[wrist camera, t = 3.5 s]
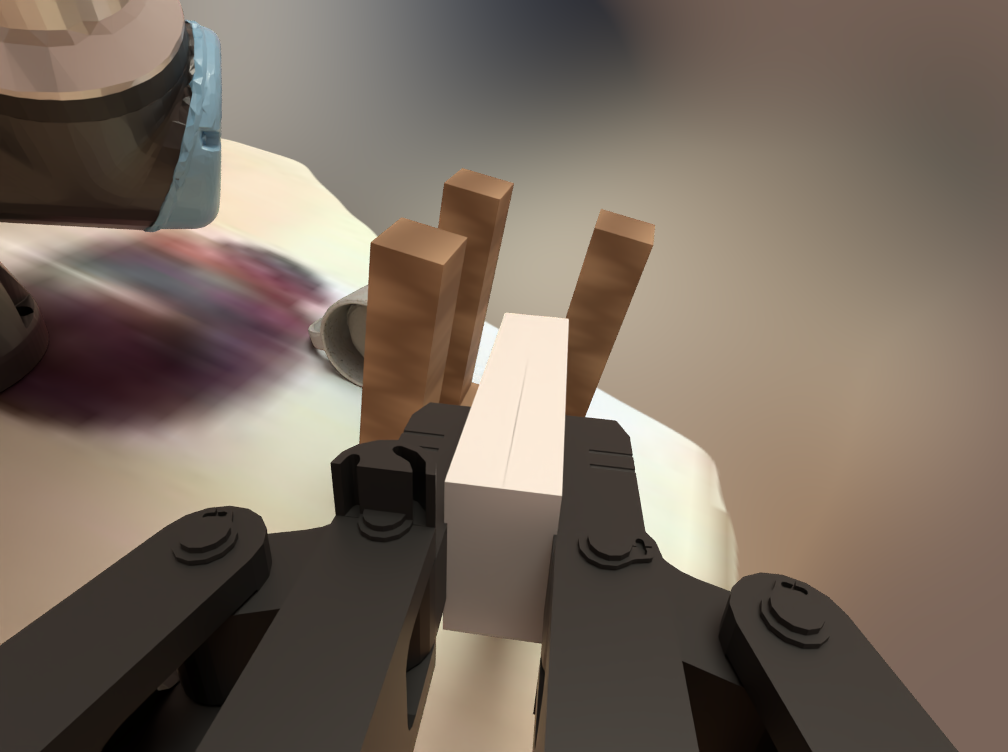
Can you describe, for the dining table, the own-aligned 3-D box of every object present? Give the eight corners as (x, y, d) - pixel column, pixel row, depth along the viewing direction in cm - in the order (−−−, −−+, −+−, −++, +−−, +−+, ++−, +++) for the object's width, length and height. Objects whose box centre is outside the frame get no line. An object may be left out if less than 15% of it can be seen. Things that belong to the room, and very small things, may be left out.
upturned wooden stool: (345, 521, 33) (357, 243, 22) (423, 397, 44) (458, 164, 32) (557, 597, 32) (680, 344, 21) (585, 451, 42) (678, 229, 31)
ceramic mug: (446, 353, 49) (457, 277, 44) (403, 404, 42) (411, 322, 38) (342, 315, 51) (342, 238, 46) (285, 359, 44) (279, 274, 39)
